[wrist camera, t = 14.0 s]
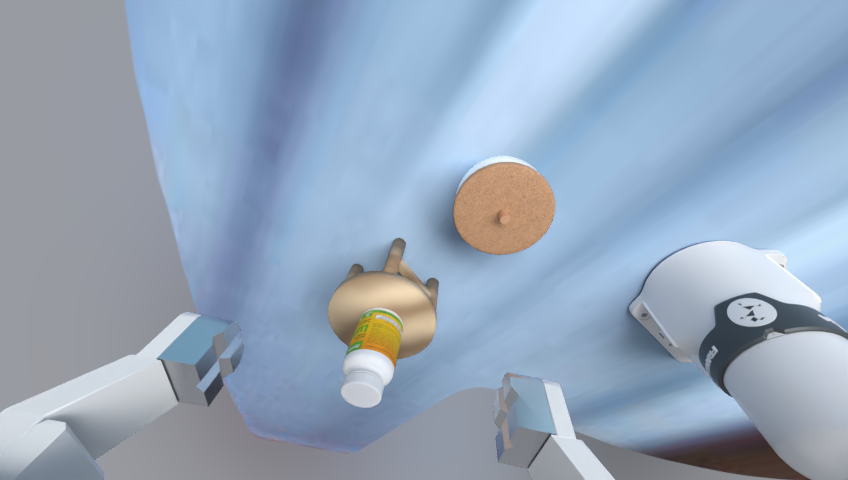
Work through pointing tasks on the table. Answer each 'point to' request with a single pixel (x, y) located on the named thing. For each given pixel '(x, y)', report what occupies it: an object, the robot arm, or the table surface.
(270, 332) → the table surface
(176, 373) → the robot arm
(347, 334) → the stool
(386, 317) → the supplement bottle
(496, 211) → the lidded jar
